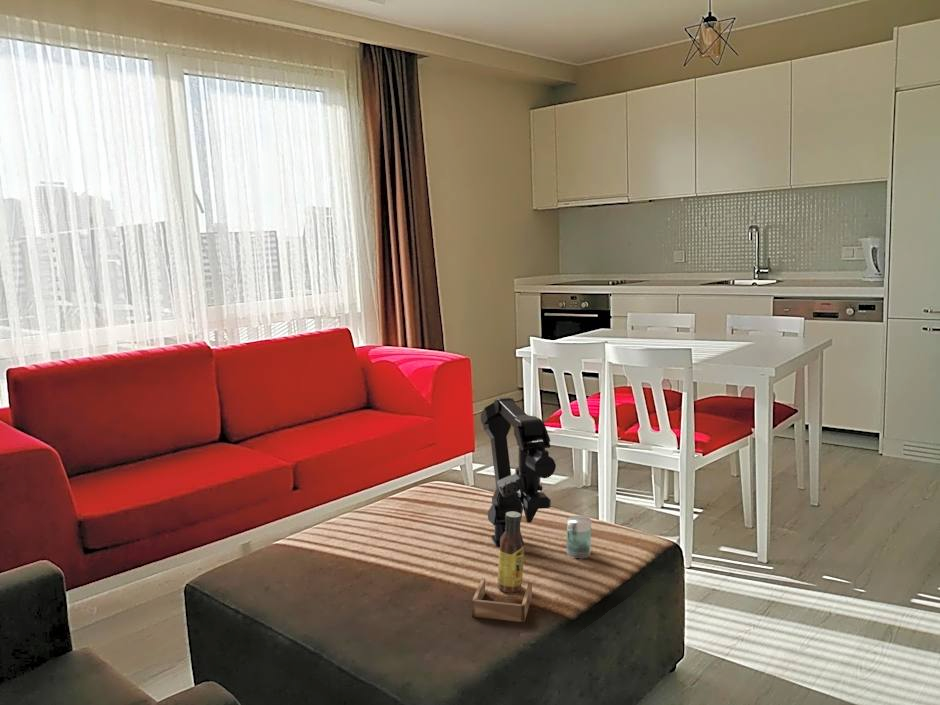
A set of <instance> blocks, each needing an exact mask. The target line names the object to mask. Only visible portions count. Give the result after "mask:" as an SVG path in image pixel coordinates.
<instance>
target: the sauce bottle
mask: <svg viewBox="0 0 940 705" xmlns="http://www.w3.org/2000/svg"><path fill="white" fill-rule="evenodd" d="M505 519H506V527H505V532H504V533H503V534H502V536H501V538H500V546H499V549H498V550H499V551H498V563H497V564H498V566H497V567H498V569H497V587H498V589H499V590H501V591H502V592H503V593H509V594H510V593H511V594H512V593H516V592H519V591H520V590H521V589H522V584H523V575H524V574H523V572H524V556H525V543H524V540H523V536H522V533H521V522H522V517H521V514H520V513H518V512H514V511H511V512H507V513H506V514H505Z"/></svg>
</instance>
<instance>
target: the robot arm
mask: <svg viewBox="0 0 940 705" xmlns="http://www.w3.org/2000/svg"><path fill="white" fill-rule="evenodd" d="M480 422H481V424H482V425H483V426H482V427H483V430H484V431H483V432H485V434H486V435H487V436H488V437H489V439H490V445H491V453H492V463H493V472H494V479H495V491H494V493H493V495H492V498H491V506H490V507H489V509H488V511H487V520H488V521H489V523H491V525H493V526H494V534H492V535H491V536H490V537H491V539H492V542H493V543H494V545H495V546H497V547H499V546H498V545H500V538H501V536H502V534H503V533H504V532H505V527H506V519H505V514H506V513H507V512H511V511H514V512H518V513H520V514H521V518H522V517H523V512H524V515H525V521H526V523H532V522H533V519H534V518H535V516H536V514H537V512H538V510H540V509H541V510H543V509H549V508H551V505H552V501H551V498H550V497H549V496H547V494H546V493H545V492H541V491H543V486H542V484H541V479H547V478H550V477H551V476H553V474H554V473H555V470H556V469H557V468H556V467H557V464H556V462H555V460H554V458H552V457H551V456H550V452H549V451H548V450H546V449H549V448H551V443H550V442H551V438H550V436H549V433H548V429H547V428H546V427H547V426H546V424H545V423H544V421H543V420H542V419H541V418H540V417H537V416H535V415H528V414H527V413H526V411H524V410H523V408H521V407H520V406H519V405H518V404H517V403H516V402H515V399H514V398H513V397H512V398H511V397H504V398H503V397H501V398H497V399H495V400H494V401H493V402H492V403H491V404H489V405H487V406H485V407H484V408H483V410H482V412H481V414H480ZM512 427H513V436H514V437H515V439H516V445H517V446H518V467H516V468H515V470H514V471H515V473H513V474H512V470H511V463H510V455H509V454H510V452H509V447H508V435H509V433H510V430H511V428H512Z"/></svg>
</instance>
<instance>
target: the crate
mask: <svg viewBox="0 0 940 705" xmlns="http://www.w3.org/2000/svg"><path fill="white" fill-rule="evenodd" d="M532 588H533V584H532V582H528V584H527V587H526V590H525V593H524V597H523V599H522V602H521V604H520V603H513V602H502V601H493V600H483V599H484V596H485V594H486V577H481V580H480V582H479V584H478V586H477V588H476V590H475V593H474V595H473V597H472V599H471V617H474V618H485V619H494V620H500V621H501V620H502V621H509V622H520V623H525V622H526V617H527V615H528V612H529V608H530V606H531V601H532V598H533V596H532V595H533V594H532V593H533V589H532Z"/></svg>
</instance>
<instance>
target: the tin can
mask: <svg viewBox="0 0 940 705" xmlns="http://www.w3.org/2000/svg"><path fill="white" fill-rule="evenodd" d="M591 544H592V519H590V518H589V517H588V516H584V515H572V516H569V517H568V518H567V521H566V555H569V556H571V557H574V558H586V559H588V558H590V557H591V549H592V545H591ZM569 556H568V557H569ZM589 556H590V557H589ZM571 557H570V558H571ZM587 557H588V558H587ZM574 558H573V559H574Z"/></svg>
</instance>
